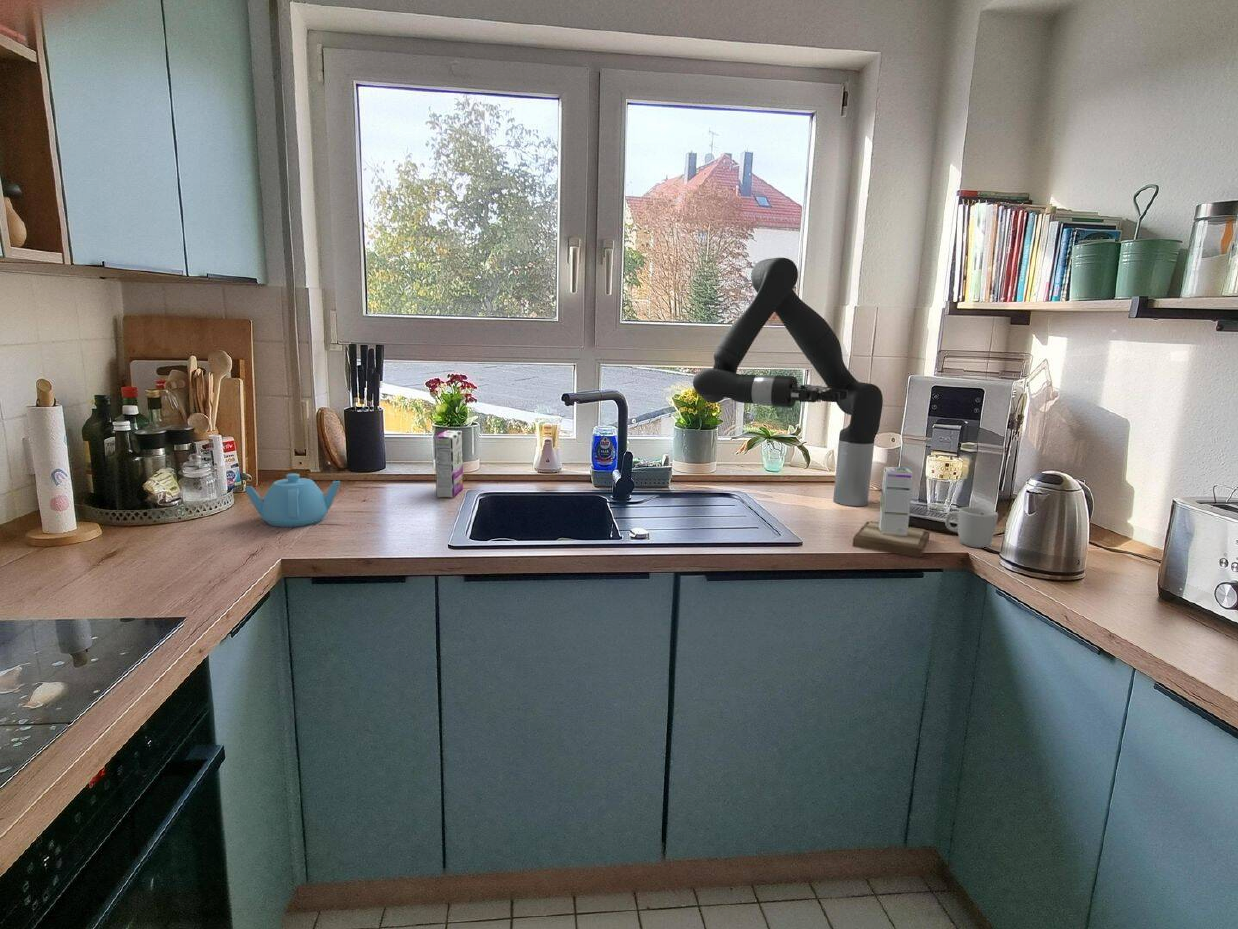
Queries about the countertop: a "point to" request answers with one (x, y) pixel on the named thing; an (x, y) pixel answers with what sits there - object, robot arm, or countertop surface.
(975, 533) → the cup
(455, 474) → the candy bar box
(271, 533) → the countertop surface
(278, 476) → the countertop surface
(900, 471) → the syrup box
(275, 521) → the teapot
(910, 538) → the riser
